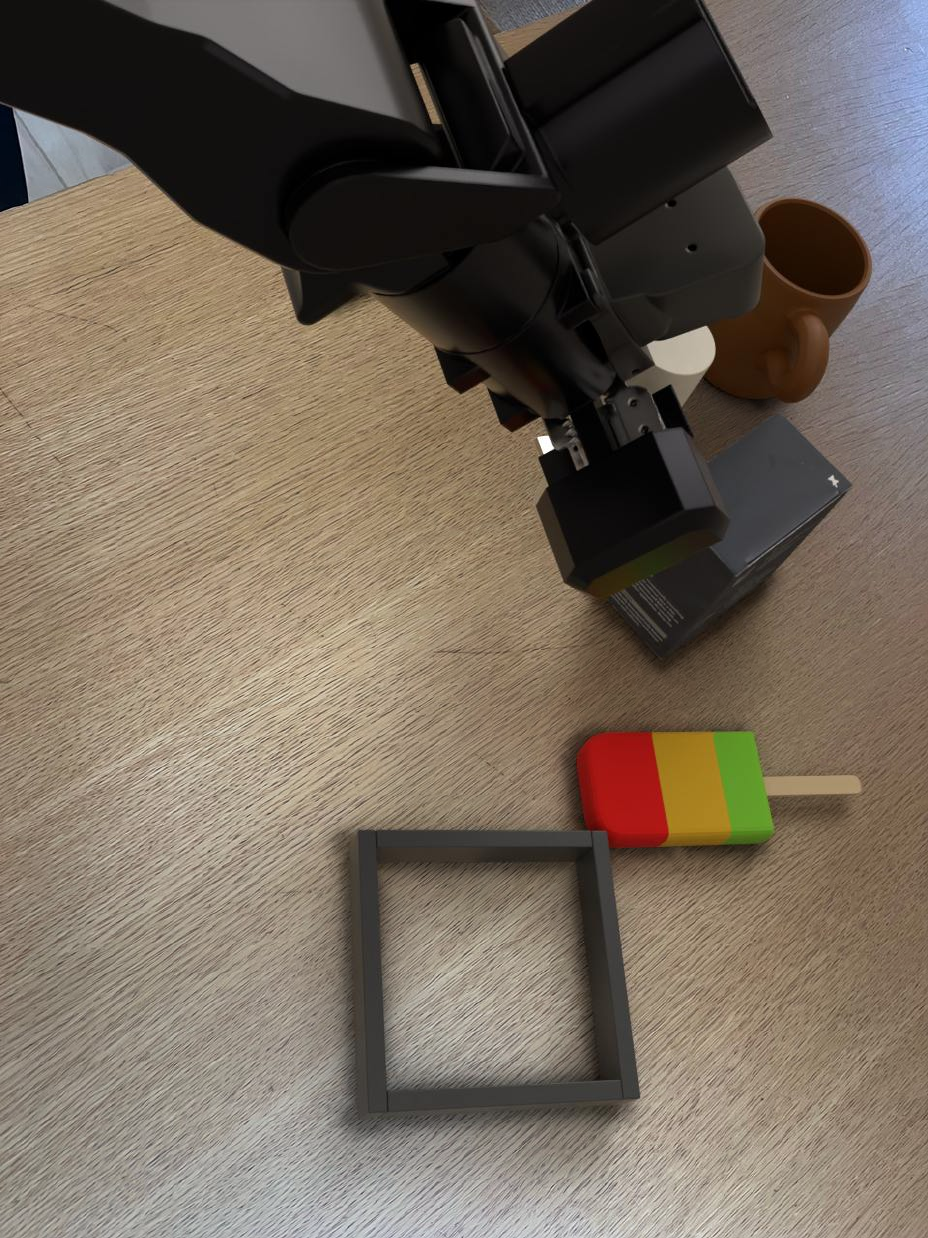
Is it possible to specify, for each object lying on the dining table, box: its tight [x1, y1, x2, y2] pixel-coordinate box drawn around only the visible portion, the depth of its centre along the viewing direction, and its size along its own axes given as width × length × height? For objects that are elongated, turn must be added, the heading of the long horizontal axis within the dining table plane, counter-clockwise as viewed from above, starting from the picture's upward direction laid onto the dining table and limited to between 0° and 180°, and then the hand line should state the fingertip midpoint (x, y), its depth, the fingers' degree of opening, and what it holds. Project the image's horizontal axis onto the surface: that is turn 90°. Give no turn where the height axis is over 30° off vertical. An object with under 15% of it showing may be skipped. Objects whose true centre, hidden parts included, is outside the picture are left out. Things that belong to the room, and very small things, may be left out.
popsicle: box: [576, 730, 862, 849], centre depth 62 cm, size 6×15×2 cm, turn 96°
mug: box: [703, 196, 873, 404], centre depth 72 cm, size 12×8×9 cm, turn 177°
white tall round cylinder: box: [532, 326, 715, 524], centre depth 56 cm, size 7×4×13 cm, turn 17°
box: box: [605, 412, 853, 660], centre depth 64 cm, size 9×6×10 cm, turn 131°
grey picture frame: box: [348, 829, 641, 1120], centre depth 55 cm, size 12×12×2 cm
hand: (643, 427), depth 56 cm, fingers closed on white tall round cylinder, 3 cm apart
